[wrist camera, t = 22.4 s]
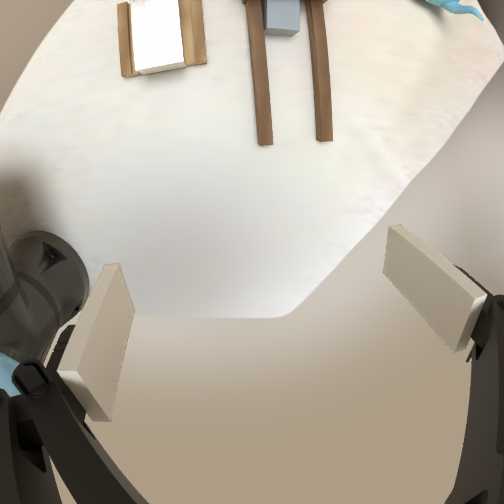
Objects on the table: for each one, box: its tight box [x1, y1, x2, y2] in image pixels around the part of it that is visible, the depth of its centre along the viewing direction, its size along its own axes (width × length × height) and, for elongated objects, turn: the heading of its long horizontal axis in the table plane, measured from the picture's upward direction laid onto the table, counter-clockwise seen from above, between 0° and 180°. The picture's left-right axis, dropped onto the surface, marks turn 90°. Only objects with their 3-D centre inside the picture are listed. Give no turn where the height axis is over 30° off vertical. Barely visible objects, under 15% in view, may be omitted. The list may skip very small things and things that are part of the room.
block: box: [130, 0, 186, 75], centre depth 26 cm, size 11×5×5 cm, turn 6°
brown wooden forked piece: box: [242, 0, 333, 146], centre depth 29 cm, size 10×24×8 cm, turn 5°
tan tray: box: [117, 0, 207, 78], centre depth 28 cm, size 10×10×2 cm
